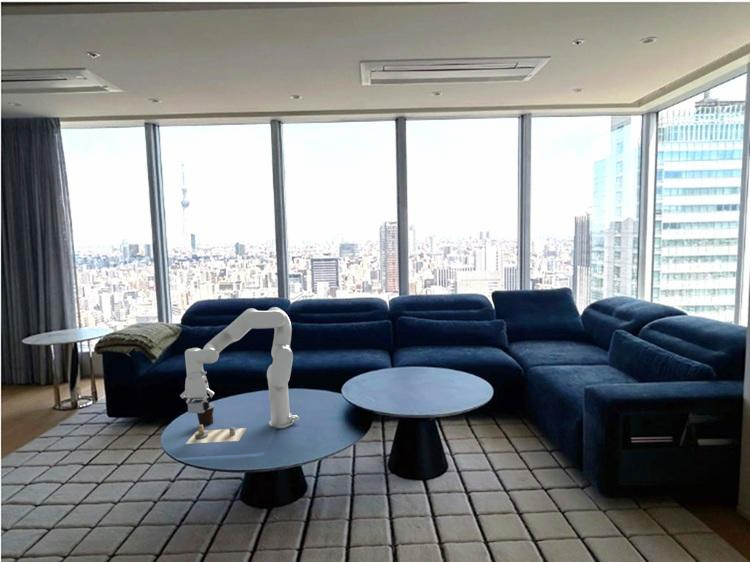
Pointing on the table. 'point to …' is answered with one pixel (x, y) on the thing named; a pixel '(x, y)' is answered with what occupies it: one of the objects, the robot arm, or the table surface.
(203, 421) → the coffee mug
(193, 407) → the collar
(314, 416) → the table surface
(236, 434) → the stand board
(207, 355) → the robot arm
